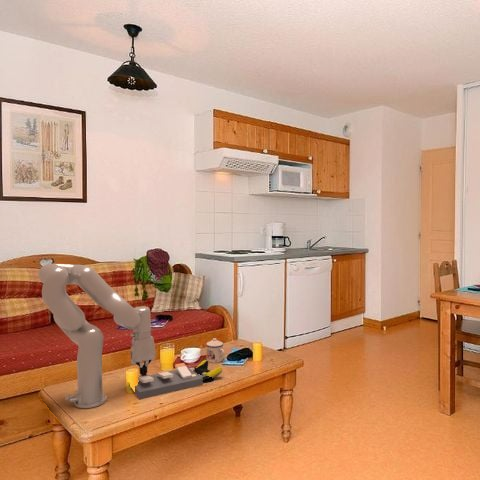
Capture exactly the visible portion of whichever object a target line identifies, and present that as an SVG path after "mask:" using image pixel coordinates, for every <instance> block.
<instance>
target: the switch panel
mask: <svg viewBox="0 0 480 480" xmlns="http://www.w3.org/2000/svg"><path fill="white" fill-rule="evenodd" d="M187 368H188V370H189V371H190V373H191V374H192V377H191V378H187V379H182V377H181V376H180V374H179V373H178V371H177V370H176V369H175V370H173V369H172V370H170V371H169V370H168V371H167V372H169V373H172V374H173V377H170V378H165V379H163V378H161V377H159V376H157V375H156V373H154V374H147V375H148V376H150V377H152V378H154V381H151V382H147V383H143V382H141V381H139V382H138V385H137V386H135V393H134V394H135V395H137V396H136V397H137V399H139V400H142V399H147V398H151V397H156V396H161V395H164V394H168V393H173V391H174V392H178V391H182V390H186V389H190V388H195V387H198V386H199V385H200V386H203V383H204V380H203V378H202V377H200V376H199V375H198V374H196V373H195V372H194V371H193V369H191V367H187ZM200 386H199V387H200Z"/></svg>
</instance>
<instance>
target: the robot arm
mask: <svg viewBox="0 0 480 480" xmlns="http://www.w3.org/2000/svg"><path fill="white" fill-rule="evenodd" d="M37 276H38V279H39V281H40V282H41V283H43V284H42V289H41V297H42V300H43V303H44V305H45V306H46V307H47V308H48V310H49V311H50V312H51V313H52V315H53V321H54V322H55V324H56V325H57V326H58V327H59V328H60V329H61V331H62V332H63V333H64V334H65V335H66V336H67V337H68V338H69V340H71V341H72V342H73V343H74V344H76V345H77V346H78V349H77V356H76V368H77V369H76V370H77V372H76V373H77V390H76V391H75V393H73V394H72V395H66V396H65V397H64V399H65V402H69V403H73V405H74V406H75V407H76V408H78V409H91V408H96V407H100V406H101V405H103V404H105V403H106V401H107V398H108V397H107V395H106V394H105V393H104V391H103V346H104V335H103V331H102V330H101V329H100V328H98V327H97V326H96V325H94V324H91V323H89V322H88V320H86V315H85V313H84V312H83V310H82V309H81V308H80V306H78V305H77V304H76V302H75V301H74V300H73V299H72V298H71V296H70V295H69V294H68V293H67V289H66V287H67V285H77V286H78V287H79V288H80V289H81V290H82V291H83V292H84V293H86V295H87V296H88V297H89V298H91V300H92V301H93V302H95V303H96V304H97V305H98V306H100V307H101V308H102V309H104V310H106V311H107V312H109V313H110V314H112V315H113V321H114V323H116V325H118V326H120V327H123V328H125V329H128V330H133V331H132V333H130V338H132V339H131V345H130V359H131V360H130V364H131V365H134V366H135V365H137V366H138V367H139V368H138V369H139V375H142V376H144V375H145V376H146V375H148V374H147V373H148V367H149V364H150V363H151V362H153V361H155V360H156V345H155V340H154V336H152V325H151V324H152V323H151V317H152V316H151V309H150V307H149V306H145V305H143V306H142V305H141V306H136V307H133V306H132V305H131V304H130V303H129V302H128V301H126V300H125V298H123V297H122V296H121V295H120V294H119V293H117V291H115V290H114V289H113V288H112V287H111V286H110V285H109V284H108V283H107V282H106V281H105V279H104V278H102V277H101V276H100V274H99V273H98V272H97V271H96V270H95V269H94V268H93V267H91V266H88V265H84V264H69V263H46V264H44V265H42V266H41V267H40V268H39V270H38V275H37Z"/></svg>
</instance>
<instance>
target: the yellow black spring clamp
mask: <svg viewBox="0 0 480 480" xmlns="http://www.w3.org/2000/svg"><path fill="white" fill-rule="evenodd" d="M209 363H210V362H208V361H207V359H204V360H202V361H201V362H200V363H199V364H198V365H197V366H193V367H192V371H194V372H195V373H197V374H200V375H202V376H209V377H212V379H214V378H216V377H219V376H220V375H221V374H222V373H223V368H222V366H217V367H216V368H214V369H212V370H210V369H209V368H208V367H209Z"/></svg>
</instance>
